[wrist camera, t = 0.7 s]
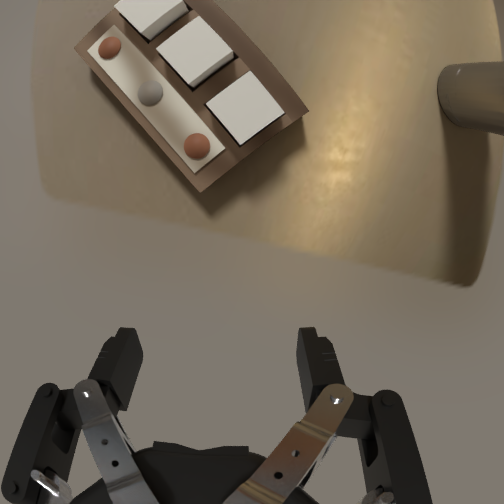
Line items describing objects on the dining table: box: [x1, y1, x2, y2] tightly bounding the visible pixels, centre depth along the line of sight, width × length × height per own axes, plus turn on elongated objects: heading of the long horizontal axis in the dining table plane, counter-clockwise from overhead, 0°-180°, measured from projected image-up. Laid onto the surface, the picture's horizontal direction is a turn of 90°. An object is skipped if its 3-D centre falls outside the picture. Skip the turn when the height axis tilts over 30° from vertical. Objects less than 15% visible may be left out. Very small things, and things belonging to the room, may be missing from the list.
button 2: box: [156, 16, 234, 88], centre depth 23 cm, size 5×5×4 cm
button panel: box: [74, 0, 309, 193], centre depth 26 cm, size 14×23×4 cm, turn 38°
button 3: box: [114, 0, 189, 41], centre depth 20 cm, size 5×5×4 cm
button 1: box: [206, 71, 285, 145], centre depth 26 cm, size 5×5×4 cm
